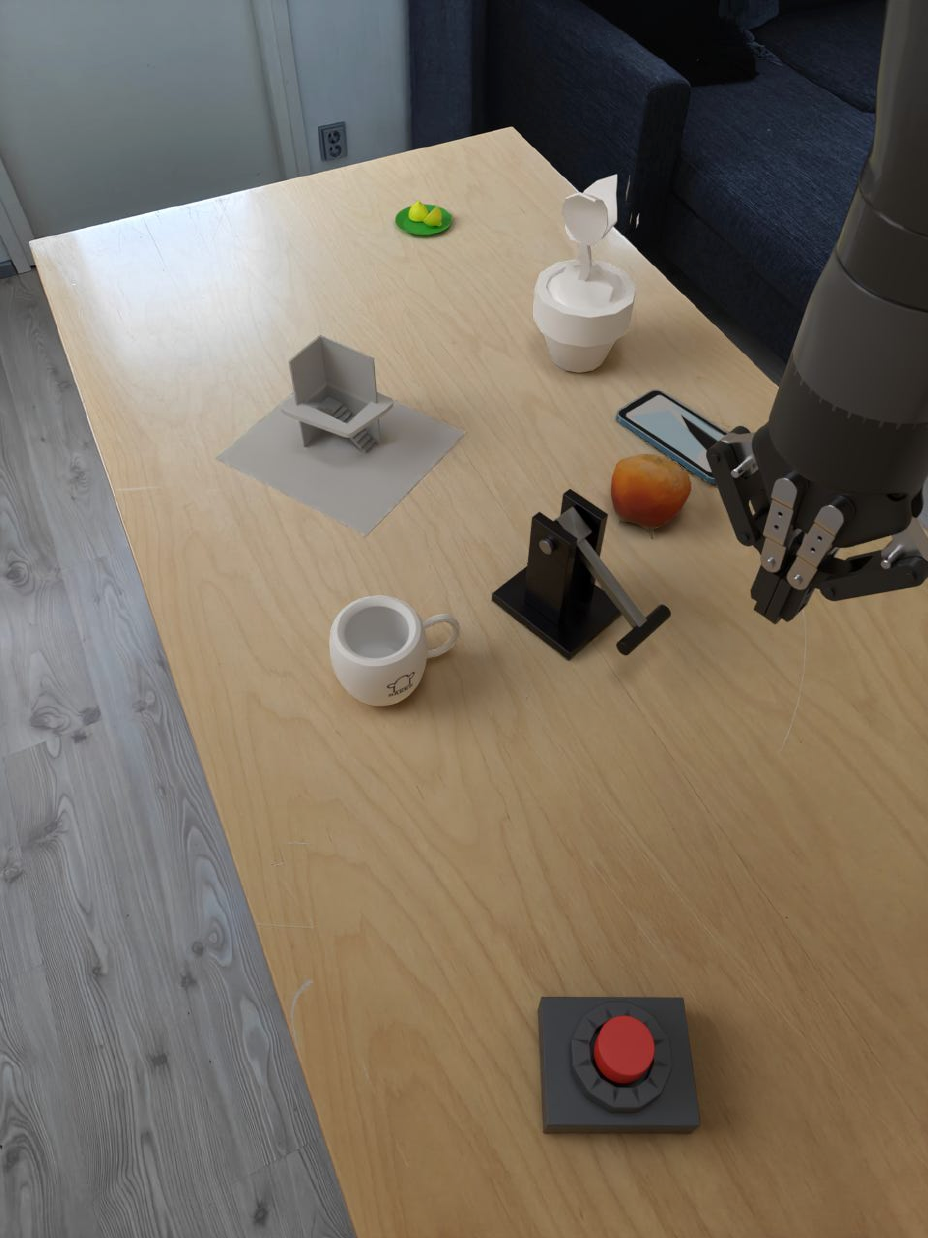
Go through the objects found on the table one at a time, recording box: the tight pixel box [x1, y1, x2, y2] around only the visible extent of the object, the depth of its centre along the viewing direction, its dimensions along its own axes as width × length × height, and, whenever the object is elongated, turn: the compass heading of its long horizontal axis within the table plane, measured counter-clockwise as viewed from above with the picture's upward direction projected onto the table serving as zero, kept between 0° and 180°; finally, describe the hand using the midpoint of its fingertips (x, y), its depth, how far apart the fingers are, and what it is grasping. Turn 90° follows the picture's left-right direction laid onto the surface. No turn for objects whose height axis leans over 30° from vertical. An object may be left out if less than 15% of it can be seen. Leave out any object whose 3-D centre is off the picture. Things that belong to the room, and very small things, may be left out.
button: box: [594, 1016, 655, 1084], centre depth 60 cm, size 4×4×2 cm
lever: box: [553, 507, 672, 657], centre depth 81 cm, size 13×6×2 cm, turn 45°
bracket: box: [491, 488, 622, 661], centre depth 84 cm, size 10×8×13 cm
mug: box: [328, 594, 461, 707], centre depth 82 cm, size 12×8×8 cm
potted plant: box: [532, 173, 640, 374], centre depth 103 cm, size 13×12×25 cm
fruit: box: [610, 453, 692, 540], centre depth 95 cm, size 8×8×8 cm
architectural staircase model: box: [214, 334, 467, 537], centre depth 98 cm, size 19×21×12 cm
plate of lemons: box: [394, 200, 453, 236], centre depth 130 cm, size 8×8×3 cm
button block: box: [537, 996, 702, 1135], centre depth 63 cm, size 10×8×5 cm
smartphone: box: [615, 388, 729, 485], centre depth 104 cm, size 7×1×15 cm
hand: (773, 609), depth 53 cm, fingers closed
